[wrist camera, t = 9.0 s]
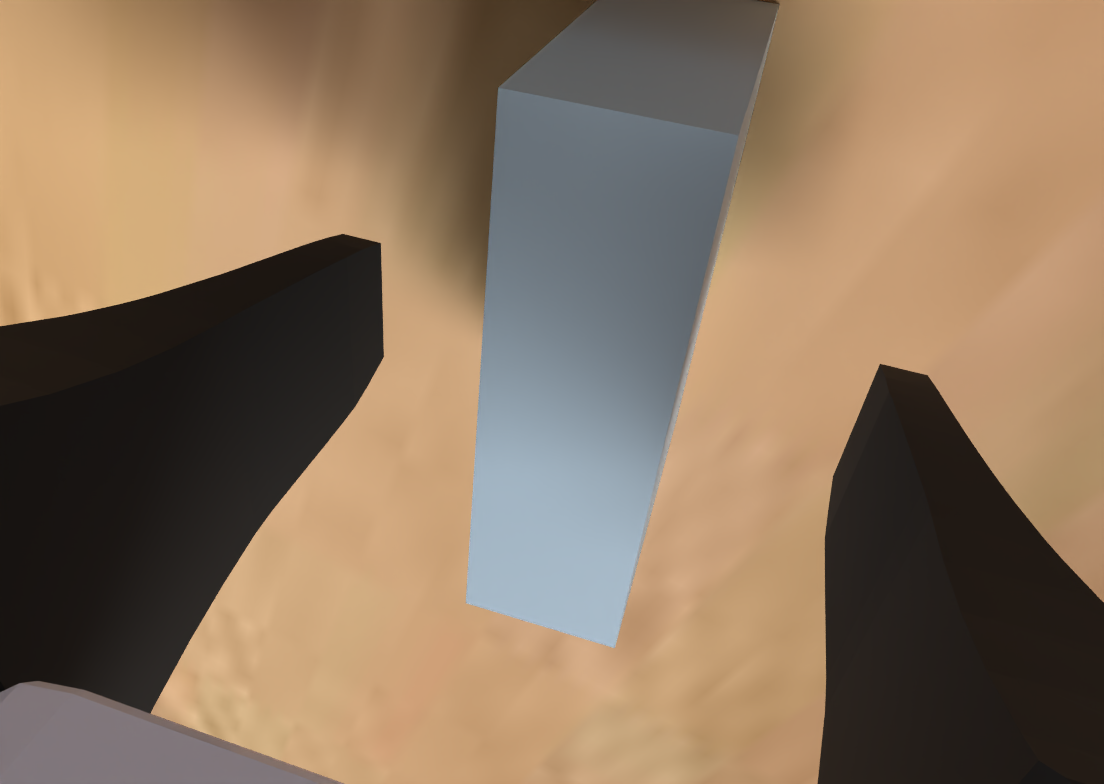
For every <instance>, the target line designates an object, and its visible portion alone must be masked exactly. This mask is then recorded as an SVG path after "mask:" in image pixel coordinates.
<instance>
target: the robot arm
mask: <svg viewBox="0 0 1104 784" xmlns="http://www.w3.org/2000/svg"><path fill="white" fill-rule="evenodd" d="M383 357H384V349H383V310H382V271H381V243H378V242H374V241H370V240H366V239H361V238H357V237H353V236H349V235H345V234H341V235H337V236H333V237H329V238H325V239H322V240H319V241H315V242H312V243H309V244H306V245H303V246H300V247H297V248H295V249H292V250H289V251H286V252H283V253H280V254H278V255H275V256H272V257H269V258H266V259H263V260H261V261H258V262H255V263H252V264H249V265H246V266H244V267H241V268H238V269H235V270H232V271H229V272H227V273H224V274H221V275H218V276H214V277H211V278H208V279H205V280H202V281H198V282H195V283H192V284H189V285H186V286H182V287H179V288H176V289H173V290H170V291H166V292H163V293H160V294H157V295H153V296H150V297H146V298H142V299H139V300H135V301H131V302H127V303H123V304H119V305H114V306H110V307H106V308H101V309H97V310H92V311H88V312H83V313H78V314H73V315H68V316H63V317H57V318H51V319H44V320H38V321H32V322H25V323H19V324H13V325H6V326H0V784H344V783H341V782H338V781H335V780H333V779H330V778H327V777H324V776H322V775H319V774H316V773H313V772H310V771H308V770H305V769H302V768H299V767H297V766H294V765H291V764H288V763H286V762H283V761H280V760H277V759H274V758H272V757H269V756H266V755H263V754H261V753H258V752H255V751H252V750H249V749H247V748H244V747H241V746H238V745H236V744H233V743H230V742H227V741H225V740H222V739H219V738H216V737H213V736H211V735H208V734H205V733H202V732H200V731H197V730H194V729H191V728H188V727H186V726H183V725H180V724H177V723H175V722H172V721H169V720H166V719H164V718H161V717H158V716H155V715H152V714H150V713H151V711H152V709H153V707H154V705H155V703H156V701H157V700H158V698H159V696H160V694H161V692H162V690H163V689H164V687H165V685H166V683H167V681H168V680H169V678H170V676H171V674H172V672H173V670H174V669H175V667H176V665H177V663H178V661H179V659H180V658H181V656H182V654H183V652H184V650H185V649H186V647H187V645H188V643H189V641H190V639H191V638H192V636H193V634H194V633H195V631H196V629H197V628H198V626H199V624H200V623H201V621H202V619H203V617H204V616H205V614H206V612H207V611H208V609H209V607H210V606H211V604H212V602H213V601H214V599H215V597H216V595H217V594H218V592H219V590H220V589H221V587H222V585H223V584H224V582H225V581H226V579H227V577H228V576H229V574H230V573H231V571H232V570H233V568H234V566H235V565H236V563H237V562H238V560H239V558H240V557H241V555H242V554H243V552H244V551H245V549H246V547H247V546H248V544H249V543H250V541H251V540H252V538H253V536H254V535H255V533H256V532H257V531H258V529H259V528H260V526H261V525H262V524H263V522H264V521H265V520H266V518H267V517H268V516H269V514H270V513H271V511H272V510H273V509H274V508H275V506H276V505H277V504H278V503H279V501H280V500H281V499H282V498H283V496H284V495H285V494H286V493H287V491H288V490H289V489H290V488H291V487H292V485H293V484H294V483H295V482H296V480H297V479H298V478H299V477H300V475H301V474H302V473H303V472H304V470H305V469H306V468H307V467H308V465H309V464H310V463H311V462H312V461H313V459H314V458H315V457H316V456H317V454H318V453H319V452H320V451H321V449H322V448H323V447H324V446H325V444H326V443H327V442H328V441H329V439H330V438H331V437H332V436H333V434H334V433H335V432H336V431H337V429H338V428H339V427H340V426H341V424H342V423H343V422H344V420H345V419H346V418H347V417H348V415H349V414H350V413H351V411H352V410H353V409H354V407H355V406H356V404H357V403H358V401H359V399H360V398H361V396H362V394H363V393H364V391H365V389H366V388H367V386H368V384H369V383H370V381H371V379H372V377H373V375H374V373H375V372H376V370H377V368H378V366H379V364H380V363H381V361H382V359H383ZM825 614H826V702H825V718H824V727H823V737H822V747H821V757H820V767H819V777H818V784H1104V603H1103V602H1102V601H1101V600H1100V599H1099V598H1098V596H1097V595H1096V594H1095V593H1094V592H1093V591H1092V590H1091V589H1090V588H1089V587H1088V586H1087V585H1086V584H1085V583H1084V582H1083V581H1082V580H1081V579H1080V578H1079V577H1078V575H1077V574H1076V573H1075V572H1074V571H1073V570H1072V569H1071V568H1070V567H1069V566H1068V565H1067V564H1066V563H1065V562H1064V561H1063V560H1062V559H1061V557H1060V556H1059V555H1058V554H1057V553H1056V552H1055V551H1054V550H1053V548H1052V547H1051V546H1050V545H1049V544H1048V543H1047V542H1046V540H1045V539H1044V538H1043V537H1042V536H1041V534H1040V533H1039V532H1038V531H1037V529H1036V528H1035V527H1034V526H1033V524H1032V523H1031V522H1030V521H1029V520H1028V518H1027V517H1026V516H1025V515H1024V513H1023V512H1022V511H1021V510H1020V508H1019V507H1018V506H1017V505H1016V503H1015V502H1014V501H1013V500H1012V498H1011V497H1010V496H1009V494H1008V493H1007V492H1006V490H1005V489H1004V488H1003V486H1002V485H1001V484H1000V482H999V481H998V479H997V478H996V477H995V475H994V474H993V473H992V471H991V470H990V468H989V467H988V465H987V464H986V463H985V461H984V460H983V458H982V457H981V455H980V454H979V453H978V451H977V450H976V448H975V447H974V445H973V444H972V442H971V441H970V439H969V438H968V436H967V435H966V433H965V432H964V430H963V429H962V427H961V426H960V424H959V422H958V421H957V419H956V418H955V416H954V415H953V413H952V412H951V410H950V409H949V407H948V405H947V404H946V402H945V401H944V399H943V398H942V396H941V395H940V393H939V391H938V390H937V388H936V387H935V385H934V384H933V382H932V381H931V380H930V378H929V377H928V375H924V374H920V373H915V372H911V371H907V370H903V369H899V368H895V367H891V366H886V365H882V364H880V365H879V368H878V370H877V373H876V375H875V377H874V380H873V382H872V385H871V387H870V389H869V392H868V394H867V397H866V399H865V401H864V404H863V406H862V409H861V411H860V413H859V416H858V418H857V421H856V423H855V425H854V428H853V430H852V432H851V435H850V437H849V440H848V442H847V444H846V447H845V449H844V452H843V454H842V456H841V459H840V461H839V464H838V466H837V468H836V471H835V473H834V476H833V481H832V488H831V495H830V502H829V510H828V518H827V526H826V534H825Z"/></svg>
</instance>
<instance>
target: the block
mask: <svg viewBox="0 0 1104 784" xmlns="http://www.w3.org/2000/svg"><path fill="white" fill-rule="evenodd" d="M779 5H780V4H775V3H769V2H764V1H758V0H597V1H596V2H595V3H593V4H592V5H591V6H590V7H589V8H588V9H587V10H585V11H584V12H583V13H582V14H581V15H580V16H579V17H578V18H576V19H575V20H574V21H573V22H572V23H571V24H570V25H568V26H567V27H566V28H565V29H564V30H563V31H562V32H561V33H559V34H558V35H557V36H556V37H555V38H554V39H553V40H551V41H550V42H549V43H548V44H547V45H546V46H545V47H544V48H542V49H541V50H540V51H539V52H538V53H537V54H536V55H534V56H533V57H532V58H531V59H530V60H529V61H528V62H527V63H525V64H524V65H523V66H522V67H521V68H520V69H519V70H518V71H516V72H515V73H514V74H513V75H512V76H511V77H510V78H508V79H507V80H506V81H505V82H504V83H503V84H502V85H501V86H499V87H498V98H497V114H496V130H495V146H494V162H493V178H492V194H491V210H490V226H489V242H488V258H487V274H486V290H485V306H484V322H483V338H482V354H481V370H480V386H479V402H478V418H477V434H476V450H475V466H474V482H473V498H472V514H471V530H470V546H469V561H468V577H467V593H466V603H468V604H471V605H474V606H478V607H481V608H484V609H487V610H491V611H494V612H497V613H501V614H504V615H507V616H511V617H514V618H517V619H520V620H524V621H527V622H530V623H534V624H537V625H540V626H544V627H547V628H550V629H553V630H557V631H560V632H563V633H567V634H570V635H573V636H577V637H580V638H583V639H587V640H590V641H593V642H596V643H600V644H603V645H606V646H610V647H613V648H615V645H616V641H617V638H618V634H619V630H620V627H621V623H622V619H623V616H624V612H625V608H626V604H627V601H628V597H629V593H630V590H631V586H632V582H633V579H634V575H635V571H636V567H637V564H638V560H639V556H640V553H641V549H642V545H643V542H644V538H645V534H646V530H647V527H648V523H649V519H650V516H651V512H652V508H653V505H654V501H655V497H656V493H657V490H658V486H659V482H660V479H661V475H662V471H663V468H664V464H665V460H666V456H667V453H668V449H669V445H670V442H671V438H672V434H673V431H674V427H675V423H676V419H677V416H678V412H679V408H680V404H681V399H682V395H683V391H684V387H685V383H686V379H687V375H688V371H689V367H690V363H691V359H692V355H693V351H694V347H695V343H696V339H697V335H698V331H699V327H700V323H701V319H702V315H703V311H704V307H705V303H706V299H707V295H708V291H709V287H710V283H711V279H712V275H713V271H714V267H715V262H716V258H717V254H718V250H719V246H720V242H721V238H722V234H723V230H724V226H725V222H726V218H727V214H728V210H729V206H730V202H731V198H732V194H733V190H734V186H735V182H736V178H737V174H738V170H739V166H740V162H741V158H742V154H743V150H744V146H745V142H746V138H747V134H748V130H749V125H750V121H751V117H752V113H753V109H754V105H755V101H756V97H757V93H758V89H759V85H760V81H761V77H762V73H763V69H764V65H765V61H766V57H767V53H768V49H769V45H770V41H771V37H772V33H773V29H774V25H775V21H776V17H777V13H778V9H779Z"/></svg>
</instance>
